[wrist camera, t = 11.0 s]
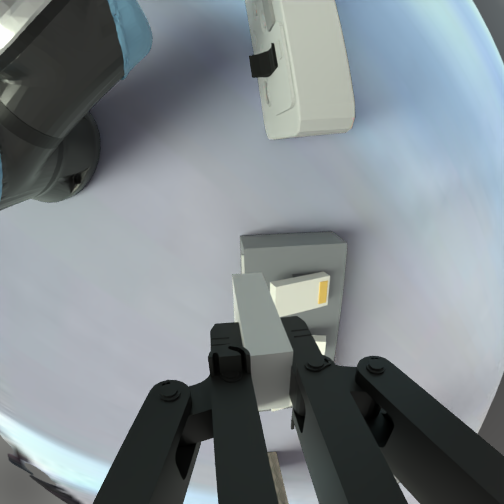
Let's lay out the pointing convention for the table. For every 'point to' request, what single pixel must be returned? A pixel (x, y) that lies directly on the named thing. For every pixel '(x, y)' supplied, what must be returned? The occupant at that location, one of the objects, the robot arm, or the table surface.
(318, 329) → the switch unit
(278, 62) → the rounded white slab
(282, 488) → the lamp
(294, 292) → the rocker
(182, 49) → the table surface
